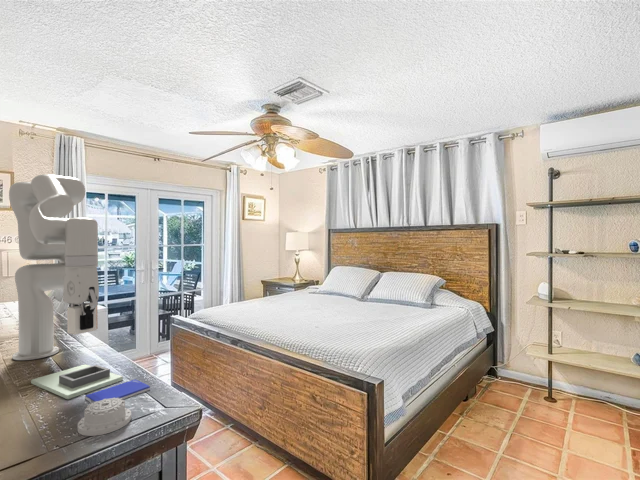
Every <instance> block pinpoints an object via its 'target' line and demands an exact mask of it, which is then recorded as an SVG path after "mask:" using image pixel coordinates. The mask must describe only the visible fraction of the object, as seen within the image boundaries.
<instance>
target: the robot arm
mask: <svg viewBox="0 0 640 480" xmlns="http://www.w3.org/2000/svg"><path fill="white" fill-rule="evenodd" d="M85 196H86V187H85V185H84V183H83V182H82V180H80V179H79V178H76V177H72V176H63V175H57V174H48V173H47V174H45V173H44V174H39V175H36V176H35V177H33V178H32V179H31V181H18V182H14V183H13V184H11V185H10V187H9V191H8V199H9V203H10V207H11V208H12V209H11V210H12V212H13V213H14V216H15V219H16V220H17V234H18V250H19V254H20V257H21V259H23V260H25V261H53V260H54V261H56V260H57V261H58V263H57V262H56V263H33V264H31V263H30V264H26V265H23V266H20V267H19V268H18V269H17V270H16V271H15V273H14V282H15V283H14V284H15V286H16V292H17V299H18V300H17V302H18V307H17V308H18V351H17V352H14V353H13V354H12V360H14V361H31V360H39V359H42V358H46V357H50V356H53V355H56V354H57V353H58V352H59V351H60V348H59V347H58V346H56V345H55V344H54V341H55V339H54V336H55V335H54V334H55V333H54V328H55V327H54V324H55V323H54V320H55V319H54V314H55V313H54V312H55V311H54V310H55V309H54V302H53V299H52V298H50V296H49V295H47V294H46V293H45V292H47V291H56V290H63V291H62V300H63V301H64V303H66V304H68V305H69V307H74V306H81V313H82V315H80V330H85V329H90V328H93V314H94V309H95V307H96V306H97V307H98V305H99V302H98V301H99V298H100V297H99V295H100V288H99V274H98V267H99V254H98V253H99V250H98V249H99V248H98V245H99V243H98V242H99V241H98V239H99V238H98V237H99V235H98V234H99V232H98V231H99V229H98V227H99V226H98V222H97V220H96V219H94V218H89V217H70V218H68V217H65V216H67V215H69V214H70V213H72V211H73V209H74V206H76V205H78V204H79V203H81V202H82V201H83V200H84V198H85ZM85 305H89V306H87V307H86V309H85ZM54 345H55V346H54Z"/></svg>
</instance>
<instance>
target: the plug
mask: <svg viewBox="0 0 640 480" xmlns="http://www.w3.org/2000/svg"><path fill="white" fill-rule="evenodd" d="M87 306H89V305H85V309H86V307H87ZM66 310H67V314H66V315H67V318H66V319H67V334H69V335H80V334H81V335H82V334H86V333H90V332H95V331H98V305H97V306H96V307H95V309H94V314H93V328H90V329H85V330H80V315H82V313H81V306H74V307H70V306H69V307H67V308H66Z"/></svg>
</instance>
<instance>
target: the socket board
mask: <svg viewBox="0 0 640 480" xmlns="http://www.w3.org/2000/svg"><path fill="white" fill-rule="evenodd" d="M123 380H124V377H123V375H120V374H117V373H115V372H114V373H113V372H111V369H110V368H107V367H104V366H102V365H98V364H94V365H89V364H82V365H78V366H74V367H70V368H68V369H64V370H60V371H57V372H53V373H50V374H46V375H43V376H40V377H36V378H33V379H30V382H31V383H30V384H32V385H34V386H36V387H38V388H40V389H43V390H44V391H48V392H50V393H52V394H54V395H57V396H59V397H60V398H63V399H66V400H70V399H73V398H76V397H79V396H81V395H84V394H86V393H90V392H92V391H95V390H99V389H102V388H105V387H107V386H109V385H113V384H115V383H118V382H121V381H123Z"/></svg>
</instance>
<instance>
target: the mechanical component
mask: <svg viewBox="0 0 640 480" xmlns="http://www.w3.org/2000/svg"><path fill="white" fill-rule="evenodd" d="M131 419H132V411H131V409H129V408H126V400H124V399H122V398H120V399H119V398H115V397H114V398H110V399H103V400H101V401H95V402H94V403H91V402H90V404H88V405H87V406H86V408H85V409H84V417H82V418H81V419H80V420H79V421H77V432H78V434H79V435H81V436H87V437H95V436H103V435H106V434H109V433H112V432H116V431H118V430H120V429H122V428H124V427H126V426H127V425H128V424H129V423H130V422H131Z"/></svg>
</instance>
